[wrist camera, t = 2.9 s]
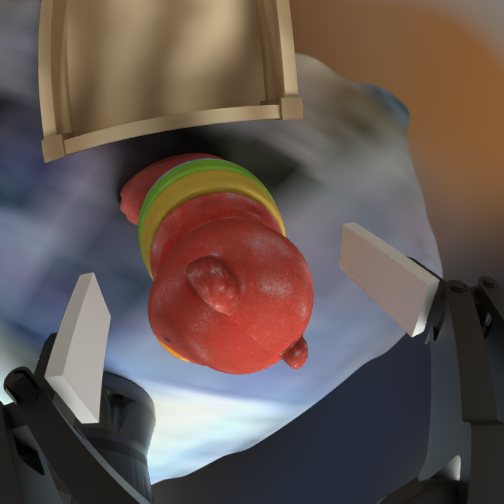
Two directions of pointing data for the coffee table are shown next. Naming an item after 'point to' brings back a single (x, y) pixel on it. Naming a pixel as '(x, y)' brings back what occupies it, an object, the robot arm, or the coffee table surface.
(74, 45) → the crate
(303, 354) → the stacking bear
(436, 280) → the robot arm
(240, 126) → the coffee table surface
